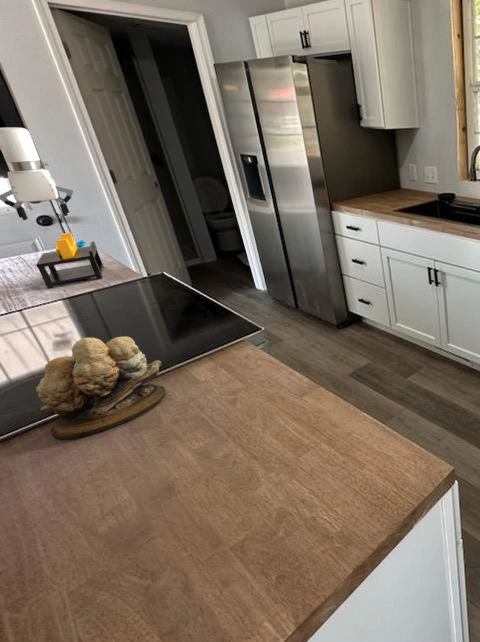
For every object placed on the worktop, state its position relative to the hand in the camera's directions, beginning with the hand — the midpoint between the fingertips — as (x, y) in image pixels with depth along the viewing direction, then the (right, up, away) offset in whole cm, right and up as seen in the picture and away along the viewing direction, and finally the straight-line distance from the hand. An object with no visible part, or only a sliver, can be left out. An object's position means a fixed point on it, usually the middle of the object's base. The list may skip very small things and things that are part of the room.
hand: (46, 217), depth 142 cm
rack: (+2, -21, +9) cm, 23 cm away
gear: (-17, -14, +27) cm, 35 cm away
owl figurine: (+82, -47, -60) cm, 112 cm away
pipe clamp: (+2, -13, +5) cm, 14 cm away
